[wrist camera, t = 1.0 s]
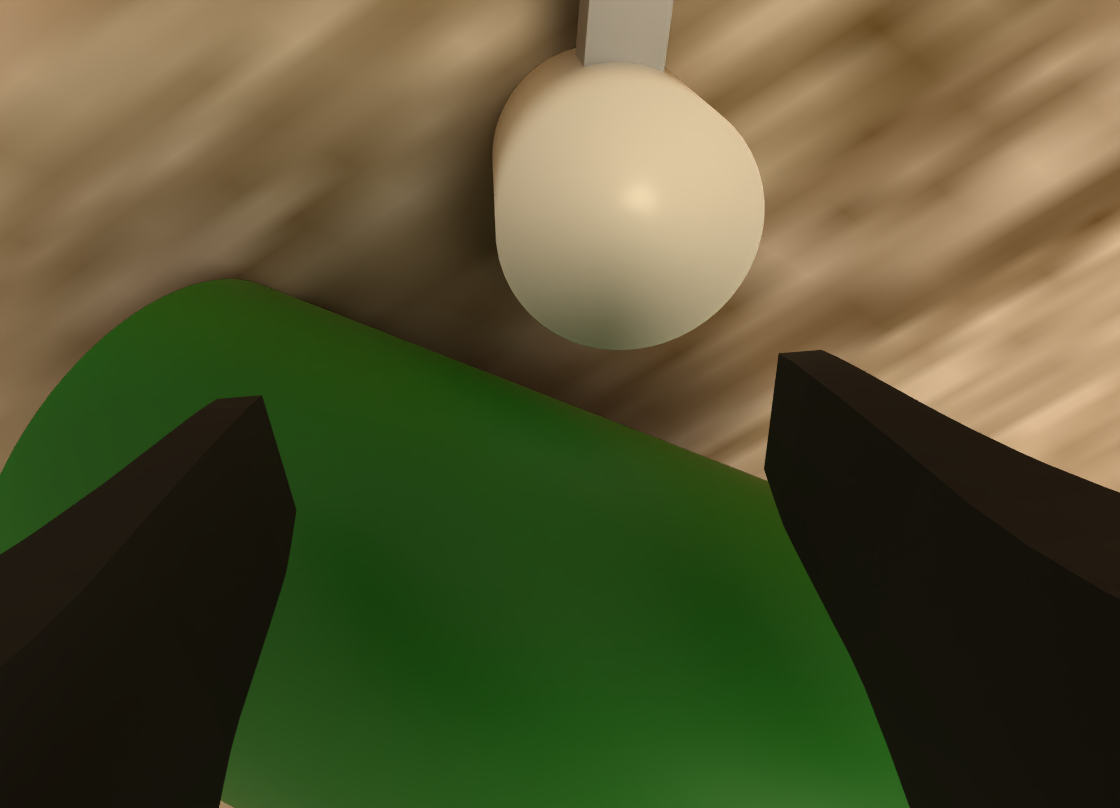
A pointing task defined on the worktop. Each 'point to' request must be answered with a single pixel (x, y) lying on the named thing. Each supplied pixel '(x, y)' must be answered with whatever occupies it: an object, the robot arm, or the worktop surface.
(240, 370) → the green vase with flowers
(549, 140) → the cream capsule with tab
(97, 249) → the worktop surface
